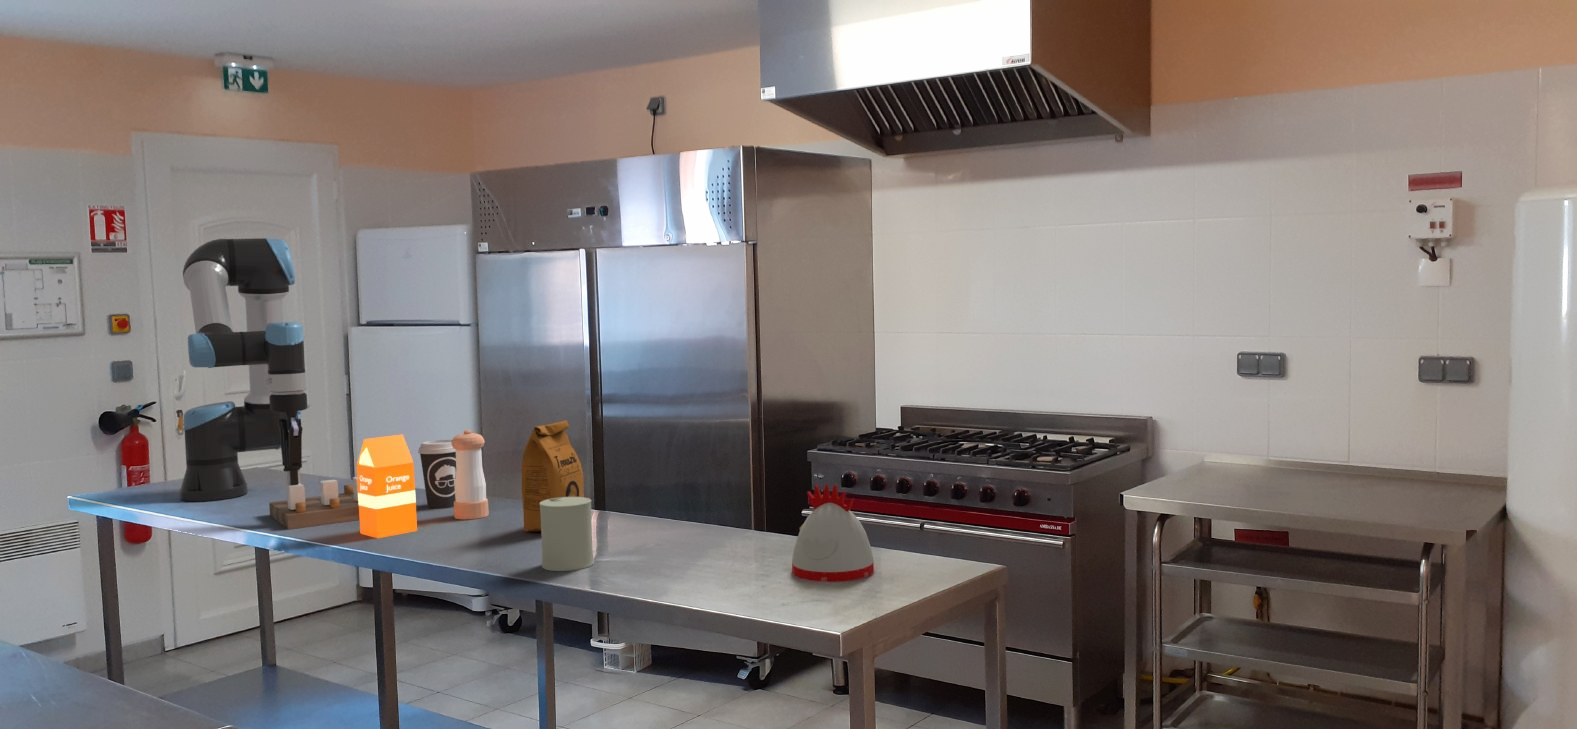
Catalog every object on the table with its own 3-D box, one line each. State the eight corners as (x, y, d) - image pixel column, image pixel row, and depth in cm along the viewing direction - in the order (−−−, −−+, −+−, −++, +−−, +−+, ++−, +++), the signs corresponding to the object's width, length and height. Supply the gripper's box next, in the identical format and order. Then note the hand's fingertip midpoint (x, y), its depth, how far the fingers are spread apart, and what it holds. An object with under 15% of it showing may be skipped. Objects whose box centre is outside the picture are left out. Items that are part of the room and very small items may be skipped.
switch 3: (353, 499, 255) (352, 477, 255) (367, 497, 257) (366, 475, 256) (357, 501, 252) (356, 478, 252) (371, 499, 254) (369, 477, 254)
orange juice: (359, 533, 234) (354, 438, 233) (399, 525, 240) (394, 433, 239) (378, 538, 229) (372, 440, 227) (418, 530, 235) (412, 435, 234)
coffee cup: (470, 501, 266) (466, 438, 265) (454, 509, 257) (450, 444, 256) (431, 502, 267) (427, 439, 266) (413, 510, 258) (410, 445, 257)
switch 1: (288, 507, 247) (286, 485, 246) (302, 506, 248) (301, 483, 248) (290, 509, 244) (289, 487, 244) (305, 507, 246) (304, 485, 246)
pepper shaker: (447, 518, 247) (443, 431, 245) (468, 512, 253) (464, 427, 252) (474, 520, 244) (470, 432, 243) (495, 513, 251) (491, 428, 249)
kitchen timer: (810, 559, 201) (808, 475, 200) (884, 564, 196) (882, 479, 195) (780, 578, 188) (777, 489, 187) (857, 584, 183) (855, 493, 182)
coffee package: (593, 524, 237) (589, 420, 235) (555, 536, 226) (550, 427, 224) (556, 520, 241) (551, 418, 240) (516, 532, 230) (511, 425, 229)
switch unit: (270, 515, 256) (268, 493, 256) (360, 503, 268) (359, 482, 268) (288, 529, 240) (287, 506, 240) (384, 516, 252) (383, 494, 251)
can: (571, 556, 208) (568, 492, 207) (604, 563, 202) (602, 496, 202) (531, 566, 201) (528, 500, 200) (564, 574, 195) (561, 505, 194)
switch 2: (321, 503, 251) (320, 481, 251) (335, 501, 253) (334, 479, 252) (324, 505, 248) (323, 482, 248) (338, 503, 250) (337, 481, 250)
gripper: (263, 392, 249) (269, 497, 251) (275, 396, 239) (281, 505, 240) (299, 389, 254) (305, 493, 255) (312, 393, 243) (318, 501, 245)
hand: (294, 499), depth 248 cm, fingers closed
